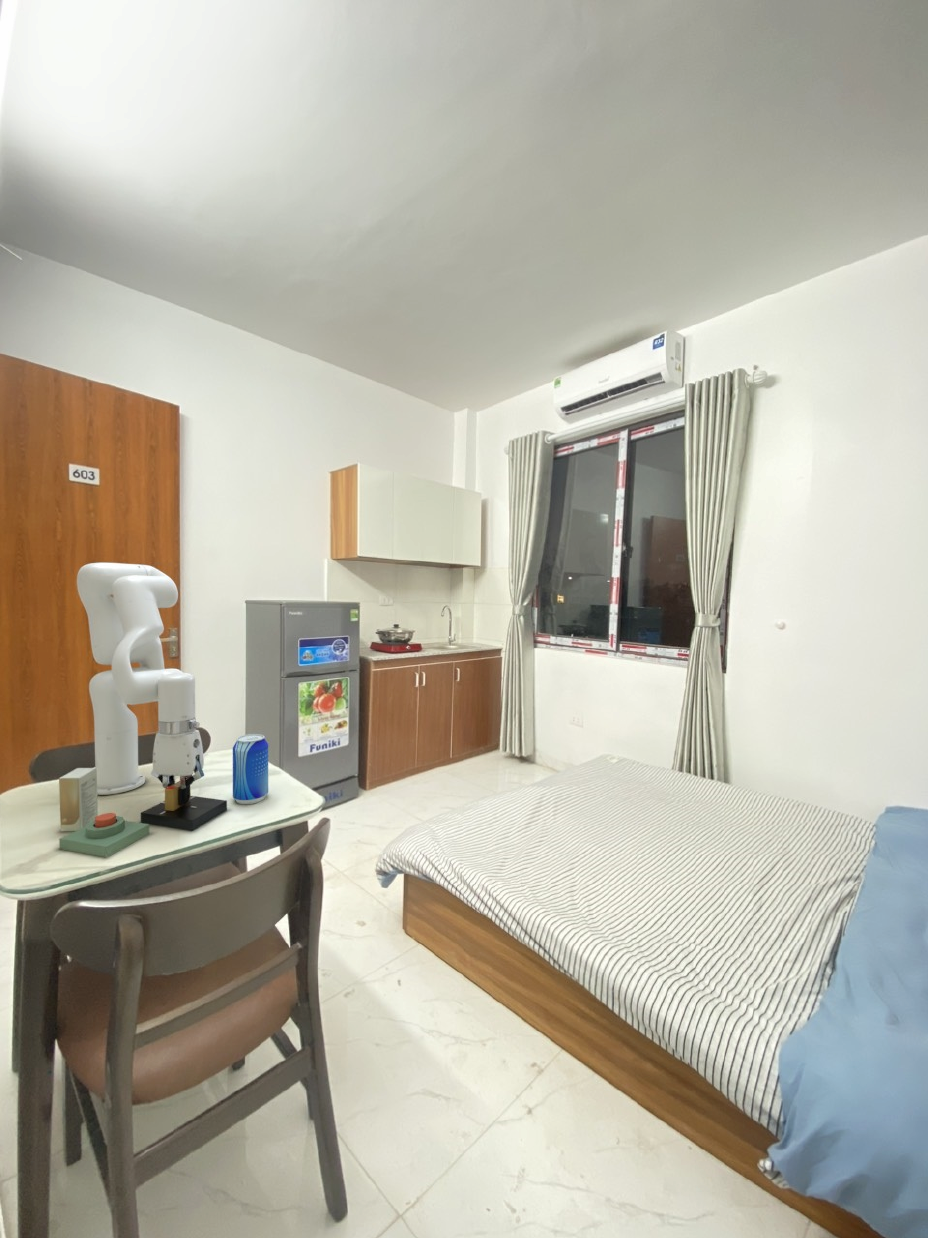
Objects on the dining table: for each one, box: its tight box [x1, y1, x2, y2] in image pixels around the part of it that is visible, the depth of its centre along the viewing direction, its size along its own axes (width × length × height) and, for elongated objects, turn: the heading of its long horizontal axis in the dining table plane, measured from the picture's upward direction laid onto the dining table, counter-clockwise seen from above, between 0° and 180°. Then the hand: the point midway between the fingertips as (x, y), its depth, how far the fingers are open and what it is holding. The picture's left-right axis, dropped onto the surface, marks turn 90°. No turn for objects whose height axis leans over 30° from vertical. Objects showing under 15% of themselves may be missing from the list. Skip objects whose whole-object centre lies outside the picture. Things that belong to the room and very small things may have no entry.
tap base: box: [140, 795, 228, 832], centre depth 117 cm, size 14×11×3 cm
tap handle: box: [164, 780, 190, 811], centre depth 117 cm, size 6×2×5 cm, turn 175°
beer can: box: [232, 733, 269, 805], centre depth 127 cm, size 8×8×16 cm
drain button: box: [95, 812, 117, 828], centre depth 104 cm, size 4×4×2 cm
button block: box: [58, 815, 150, 858], centre depth 104 cm, size 12×10×4 cm
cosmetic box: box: [58, 767, 99, 832], centre depth 111 cm, size 6×4×12 cm
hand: (177, 802), depth 117 cm, fingers closed on tap handle, 2 cm apart
